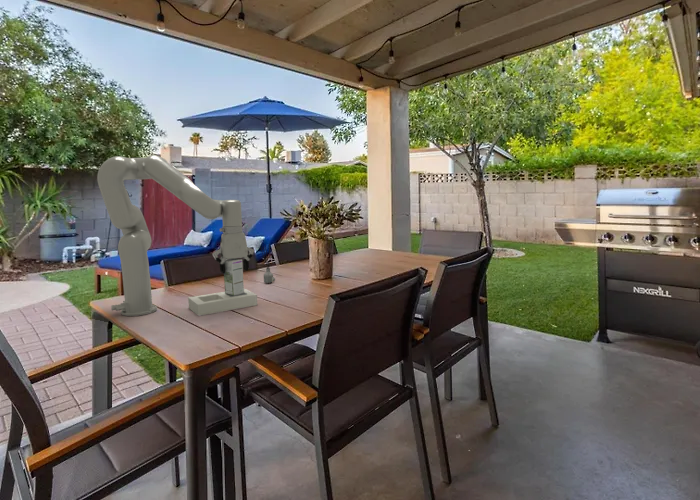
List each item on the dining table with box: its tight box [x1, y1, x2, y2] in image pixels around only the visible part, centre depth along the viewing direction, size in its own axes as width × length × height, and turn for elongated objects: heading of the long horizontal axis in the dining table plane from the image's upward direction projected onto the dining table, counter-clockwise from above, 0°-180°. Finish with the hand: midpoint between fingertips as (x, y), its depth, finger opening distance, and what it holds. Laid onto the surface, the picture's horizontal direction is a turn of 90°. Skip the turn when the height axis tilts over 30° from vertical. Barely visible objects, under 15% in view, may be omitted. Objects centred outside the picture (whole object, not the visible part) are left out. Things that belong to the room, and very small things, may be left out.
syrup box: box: [223, 258, 245, 295], centre depth 171 cm, size 6×6×14 cm
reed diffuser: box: [259, 243, 276, 283], centre depth 211 cm, size 10×7×20 cm
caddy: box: [187, 288, 258, 317], centre depth 170 cm, size 24×13×5 cm, turn 126°
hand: (234, 271), depth 171 cm, fingers open, 9 cm apart
